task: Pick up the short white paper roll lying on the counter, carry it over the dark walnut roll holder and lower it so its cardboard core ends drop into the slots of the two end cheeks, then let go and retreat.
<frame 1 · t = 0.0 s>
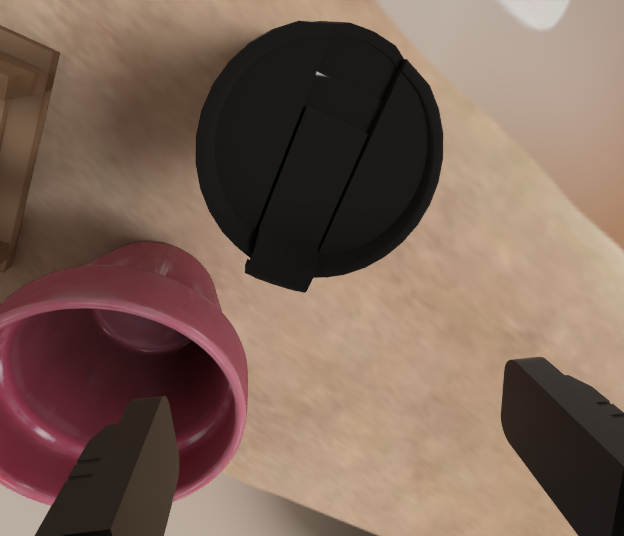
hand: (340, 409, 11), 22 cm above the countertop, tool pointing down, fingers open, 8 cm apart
plant pot: (156, 294, 34), on the countertop
travel mug: (285, 93, 29), on the countertop
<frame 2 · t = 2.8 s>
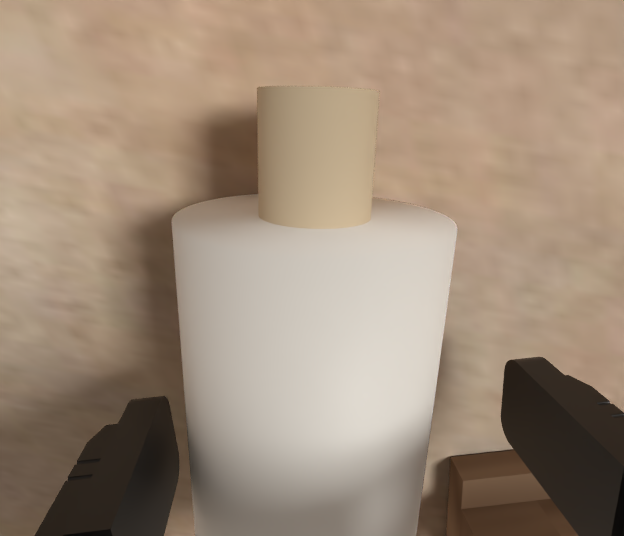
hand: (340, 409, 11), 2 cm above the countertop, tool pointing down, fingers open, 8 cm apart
roll: (396, 375, 12), point 1 cm above the countertop, tilted 62°
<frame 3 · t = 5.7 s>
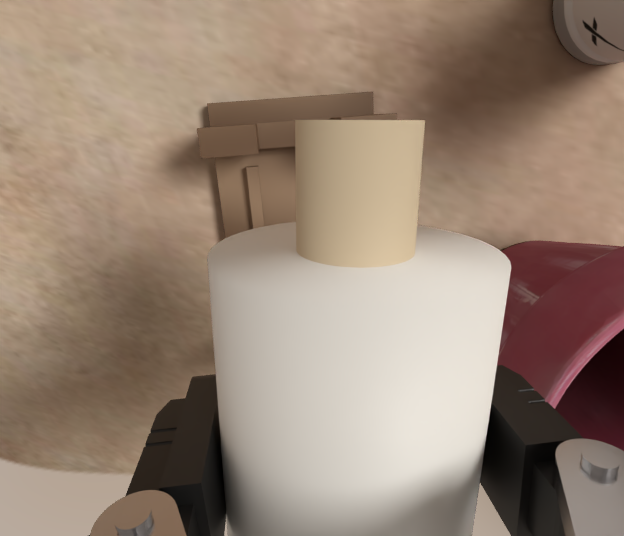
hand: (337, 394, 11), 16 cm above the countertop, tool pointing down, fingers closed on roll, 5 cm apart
plant pot: (523, 305, 29), on the countertop
holder: (301, 236, 26), on the countertop
roll: (405, 392, 12), point 15 cm above the countertop, tilted 43°, touching gripper
travel mug: (604, 5, 24), on the countertop
when the fingers open (3 cm above the countertop, at t = 7.8 s): roll stays where it is, resting on holder.
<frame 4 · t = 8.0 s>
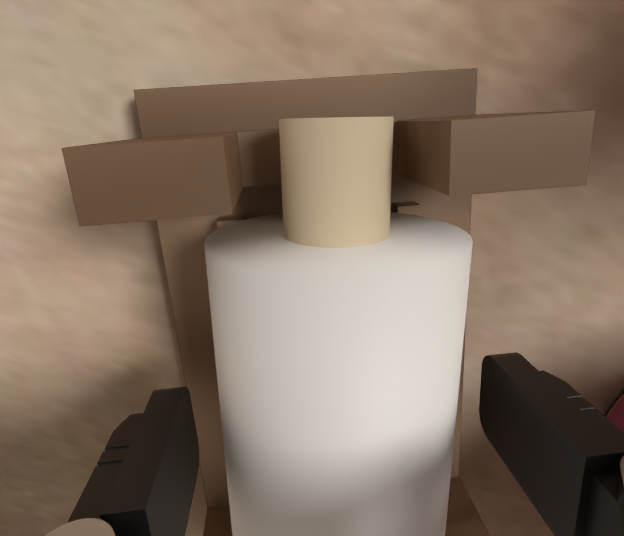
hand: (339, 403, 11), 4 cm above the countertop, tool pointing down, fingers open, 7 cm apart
holder: (322, 337, 14), on the countertop
roll: (394, 369, 13), point 2 cm above the countertop, tilted 45°, touching holder
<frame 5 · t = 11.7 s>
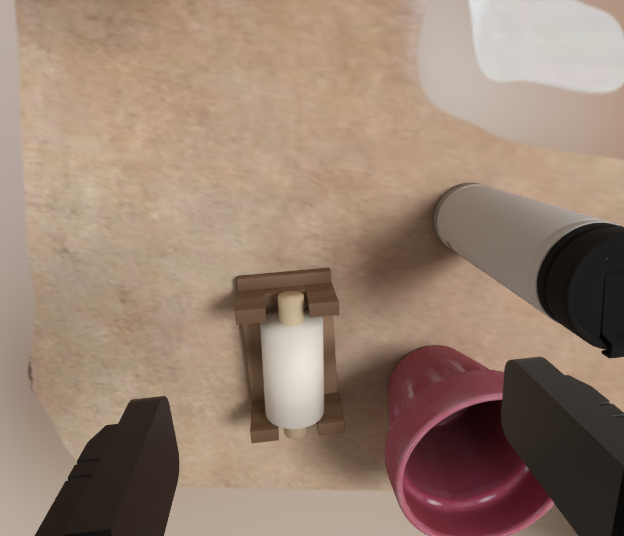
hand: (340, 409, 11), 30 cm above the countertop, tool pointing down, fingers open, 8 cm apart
plant pot: (429, 382, 46), on the countertop
holder: (290, 345, 43), on the countertop
roll: (311, 354, 42), point 2 cm above the countertop, tilted 41°, touching holder
travel mug: (464, 218, 41), on the countertop
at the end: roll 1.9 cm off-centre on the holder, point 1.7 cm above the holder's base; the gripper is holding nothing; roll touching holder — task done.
